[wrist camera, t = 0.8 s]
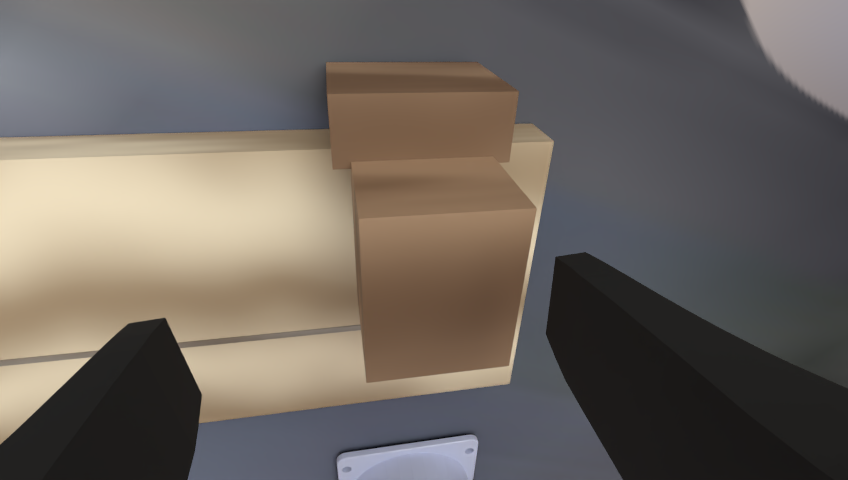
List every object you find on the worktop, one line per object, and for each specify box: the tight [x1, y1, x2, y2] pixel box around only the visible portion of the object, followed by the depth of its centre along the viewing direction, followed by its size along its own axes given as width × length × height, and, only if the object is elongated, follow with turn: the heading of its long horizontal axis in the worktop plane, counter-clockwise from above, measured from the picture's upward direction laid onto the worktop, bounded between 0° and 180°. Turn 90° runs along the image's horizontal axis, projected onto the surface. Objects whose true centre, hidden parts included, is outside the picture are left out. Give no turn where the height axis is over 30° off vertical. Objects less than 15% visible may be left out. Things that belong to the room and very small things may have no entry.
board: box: [0, 124, 554, 444], centre depth 18 cm, size 12×24×2 cm, turn 88°
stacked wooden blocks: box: [326, 62, 537, 383], centre depth 15 cm, size 10×5×7 cm, turn 178°
